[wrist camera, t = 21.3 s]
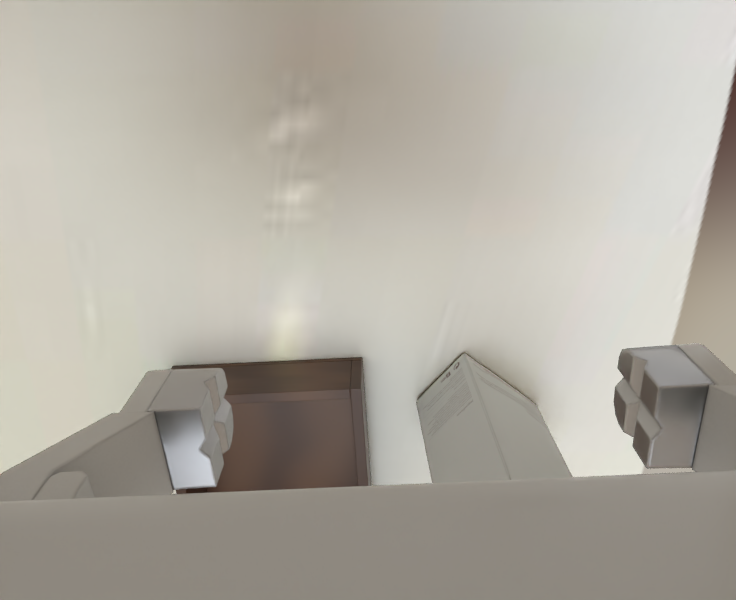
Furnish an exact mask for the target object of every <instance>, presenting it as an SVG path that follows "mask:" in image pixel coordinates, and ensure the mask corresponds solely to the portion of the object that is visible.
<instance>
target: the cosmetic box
mask: <svg viewBox="0 0 736 600" xmlns="http://www.w3.org/2000/svg"><path fill="white" fill-rule="evenodd" d="M417 408H418V413H419V419H420V424H421V429H422V434H423V439H424V444H425V449H426V454H427V459H428V464H429V469H430V474H431V479H432V483H448V482H472V481H496V480H519V479H542V478H566V477H572V475H571V473H570V471H569V469H568V467H567V465H566V463H565V461H564V459H563V457H562V455H561V453H560V451H559V449H558V447H557V445H556V443H555V441H554V439H553V437H552V435H551V433H550V431H549V429H548V427H547V425H546V423H545V421H544V419H543V417H542V415H541V413H540V411H539V409H538V407H537V405H536V404H535V403H533V402H532V401H531V400H529V399H528V398H527V397H525V396H524V395H522V394H521V393H520V392H518V391H517V390H516V389H514V388H513V387H512V386H510V385H509V384H508V383H506V382H505V381H503V380H502V379H501V378H499V377H498V376H497V375H495V374H494V373H492V372H491V371H490V370H488V369H487V368H485V367H483V366H482V365H480V364H479V363H477V362H476V361H475V360H473V359H472V358H471V357H470V356H468V355H467V354H466V353H464V354H462V355H461V356H460V357H459V358H458V359H457V360H456V361H455V362H454V363H453V364H452V366H451V367H450V368H449V369H448V370H447V371H446V372H444V373H443V374H442V375H441V376H440V377H439V378H438V379H437V380H436V381H435V382H434V383H433V384H432V385H431V386H430V387H429V388H428V389H427V390H426V391H425V392H424V393H423V394H422V395H421V396H420V397H419V398H418V401H417Z"/></svg>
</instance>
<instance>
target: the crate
mask: <svg viewBox="0 0 736 600" xmlns="http://www.w3.org/2000/svg"><path fill="white" fill-rule="evenodd" d="M205 368H222V369H223V371H224V372H225V376H226V380H227V385H228V388H227V390H226V393H225V395H224V398H225V399H226V400H227V401H228V402H229V403H230V404H231V407H232V413H233V425H234V428H233V437H232V442H231V446H230V449H229V450H228V451H227V452H225V453H224V454H223V460H224V466H223V469H222V472H221V475H220V478H219V480H218V483H217V486H216V487H206V488H192V489H178V490H176V493H177V494H189V493H212V492H236V491H260V490H283V489H307V488H330V487H354V486H371V471H370V457H369V443H368V429H367V415H366V401H365V387H364V373H363V359H362V358H342V359H320V360H299V361H278V362H256V363H235V364H214V365H192V366H173V367H172V368H171V369H173V370H175V369H205Z"/></svg>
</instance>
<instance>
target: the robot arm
mask: <svg viewBox="0 0 736 600" xmlns="http://www.w3.org/2000/svg"><path fill="white" fill-rule="evenodd" d="M618 369H619V371H620V372H621V374H622V375H623V376H624V378H623V379H622V380H621V381H620V382H619V383H618V384H617V385H616V387H615V394H614V407H615V415H616V418H617V420H618V423H619V425H620V427H621V428H622V430H623V432H625V433H626V434H628V435H630V436H632V437H634V439H633V448H634V449H635V451H636V452H637V454H638V456H639V457H640V459H641V460H642V462H643V463H644V465H645V466H646V468H692V470H694V471H695V472H684V473H660V474H636V475H612V476H589V477H566V478H542V479H519V480H496V481H472V482H448V483H425V484H401V485H378V486H354V487H330V488H307V489H283V490H260V491H236V492H212V493H189V494H172V493H173V490H178V489H192V488H206V487H216V486H217V483H218V480H219V478H220V475H221V472H222V469H223V466H224V460H223V454H224V453H225V452H227V451H228V450H229V449H230V446H231V442H232V437H233V428H234V425H233V413H232V407H231V404H230V403H229V402H228V401H227V400H226V399H225V398H224V395H225V393H226V390H227V388H228V385H227V380H226V376H225V372H224V371H223V369H222V368H205V369H175V370H173V369H166V370H153V371H148V372H147V373H146V374H145V376H144V377H143V379H142V380H141V382H140V383H139V385H138V386H137V388H136V389H135V390H134V392H133V393H132V395H131V396H130V398H129V399H128V401H127V402H126V404H125V405H124V407H123V408H122V410H121V411H120V413H112V414H110V415H108V416H106V417H104V418H102V419H101V420H99V421H97V422H95V423H93V424H91V425H90V426H88V427H86V428H84V429H82V430H80V431H78V432H77V433H75V434H73V435H71V436H69V437H67V438H66V439H64V440H62V441H60V442H58V443H56V444H55V445H53V446H51V447H49V448H47V449H45V450H43V451H42V452H40V453H38V454H36V455H34V456H32V457H31V458H29V459H27V460H25V461H23V462H21V463H19V464H18V465H16V466H14V467H12V468H10V469H8V470H7V471H5V472H3V473H2V474H1V475H0V600H736V374H734V373H733V372H732V371H731V370H730V369H729V368H728V367H727V366H726V365H725V364H724V363H723V362H722V361H721V360H719V359H718V358H717V357H716V356H715V355H714V354H713V353H712V352H711V351H710V350H709V349H707V347H705V346H704V345H702V344H699V343H694V344H683V345H667V346H654V347H640V348H627V349H622V351H621V353H620V356H619V361H618Z"/></svg>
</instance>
